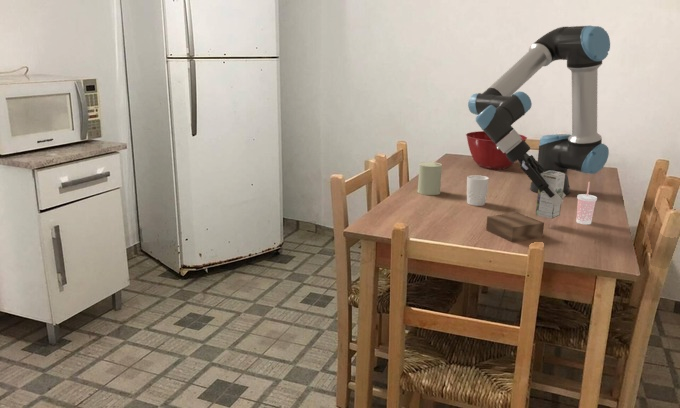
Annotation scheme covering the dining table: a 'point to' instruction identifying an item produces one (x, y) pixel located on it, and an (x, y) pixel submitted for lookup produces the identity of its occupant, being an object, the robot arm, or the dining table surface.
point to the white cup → (477, 189)
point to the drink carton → (543, 202)
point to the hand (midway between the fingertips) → (561, 200)
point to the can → (429, 178)
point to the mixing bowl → (487, 151)
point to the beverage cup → (585, 207)
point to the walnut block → (515, 227)
